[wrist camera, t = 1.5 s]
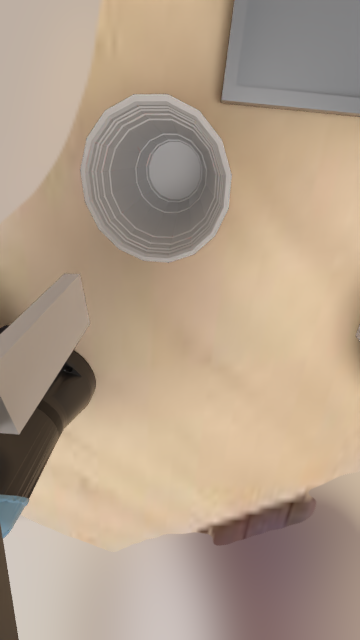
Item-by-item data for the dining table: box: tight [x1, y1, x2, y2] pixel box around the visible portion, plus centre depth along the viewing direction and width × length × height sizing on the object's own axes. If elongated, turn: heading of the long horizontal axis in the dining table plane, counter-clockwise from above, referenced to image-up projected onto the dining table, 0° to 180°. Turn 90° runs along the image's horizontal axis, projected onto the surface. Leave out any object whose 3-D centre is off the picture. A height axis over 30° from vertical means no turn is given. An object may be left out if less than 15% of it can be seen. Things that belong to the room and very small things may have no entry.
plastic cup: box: [80, 94, 232, 263], centre depth 25 cm, size 11×11×12 cm
